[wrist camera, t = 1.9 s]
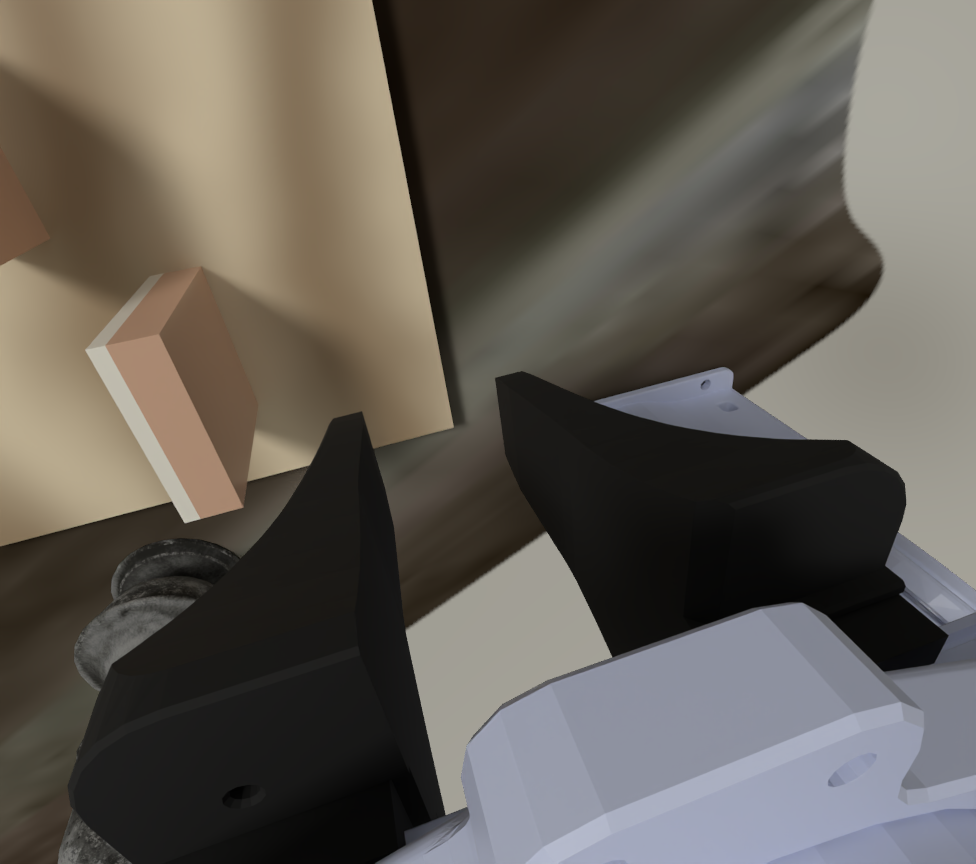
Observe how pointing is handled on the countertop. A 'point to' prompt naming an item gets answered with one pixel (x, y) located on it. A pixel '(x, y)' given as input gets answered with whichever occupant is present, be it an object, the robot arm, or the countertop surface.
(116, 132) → the maple board
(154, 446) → the cream tile
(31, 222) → the tan piece
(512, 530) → the countertop surface
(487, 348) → the countertop surface
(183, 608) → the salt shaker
